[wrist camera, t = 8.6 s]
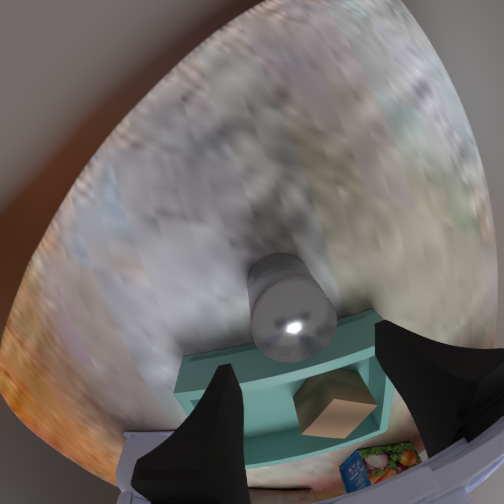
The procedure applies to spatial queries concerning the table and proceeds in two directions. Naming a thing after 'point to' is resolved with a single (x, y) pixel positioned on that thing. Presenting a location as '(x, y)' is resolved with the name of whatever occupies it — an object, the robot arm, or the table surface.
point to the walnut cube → (332, 403)
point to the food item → (281, 496)
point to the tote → (291, 391)
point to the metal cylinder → (288, 309)
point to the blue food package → (377, 465)
